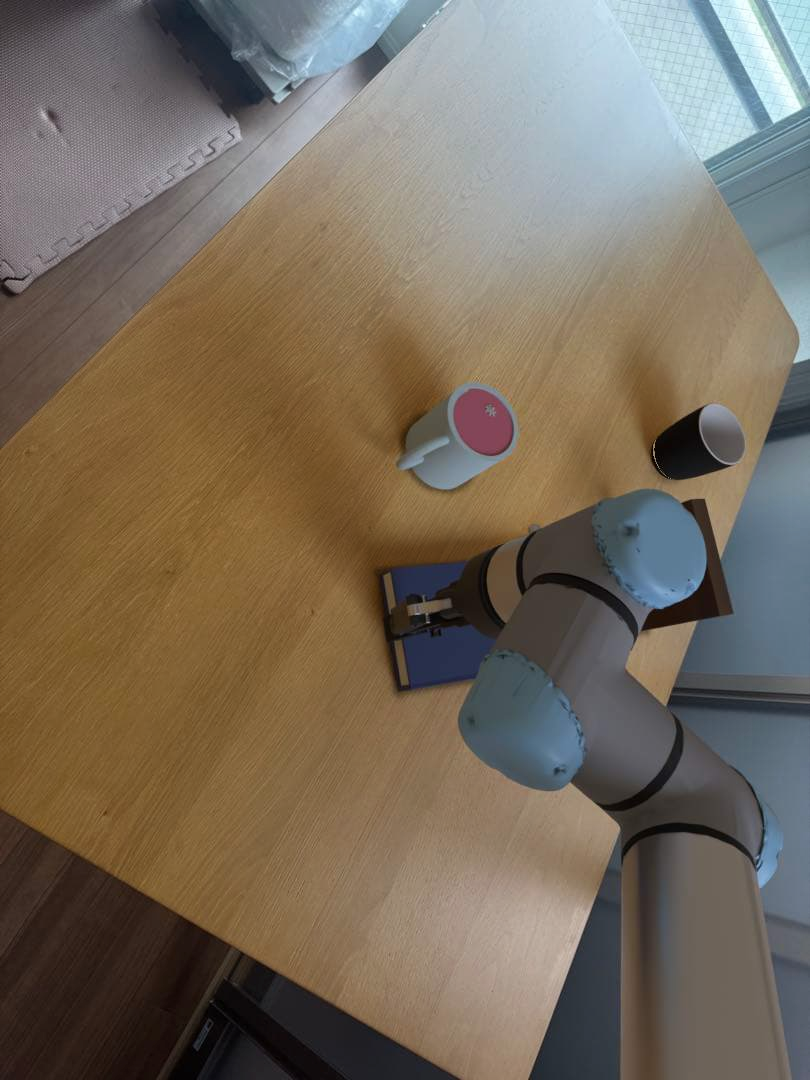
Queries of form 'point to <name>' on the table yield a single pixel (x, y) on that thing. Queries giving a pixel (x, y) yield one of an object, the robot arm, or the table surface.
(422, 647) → the book
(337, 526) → the table surface
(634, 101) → the table surface
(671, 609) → the dark brown flat block
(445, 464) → the mug
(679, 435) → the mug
